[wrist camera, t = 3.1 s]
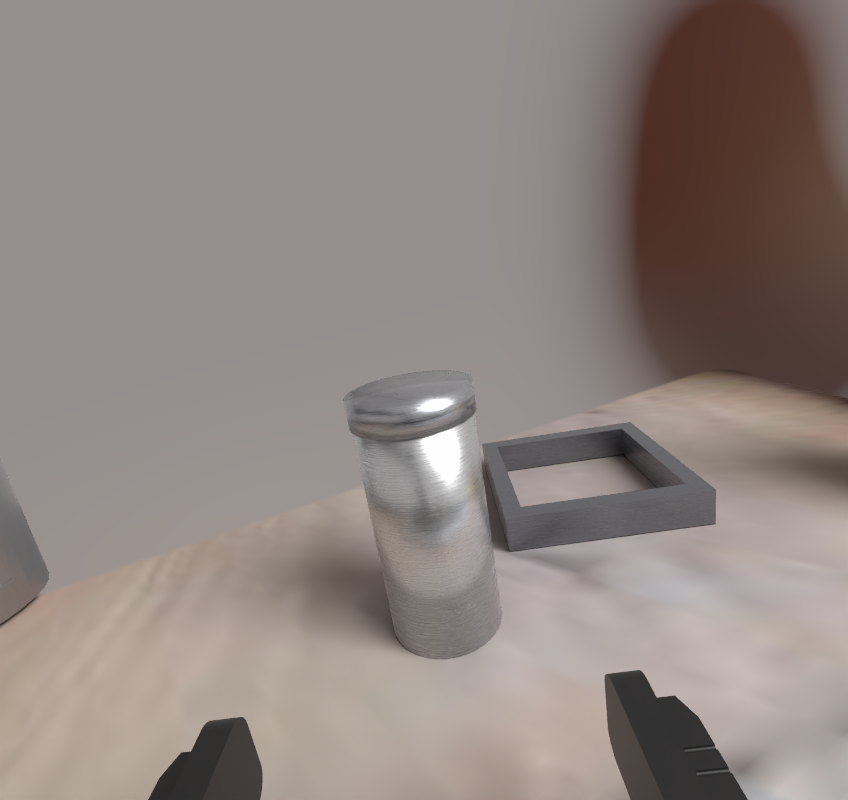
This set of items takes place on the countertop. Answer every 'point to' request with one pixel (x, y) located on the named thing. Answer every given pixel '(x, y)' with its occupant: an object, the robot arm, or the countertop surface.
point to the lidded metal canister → (428, 508)
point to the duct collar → (603, 515)
